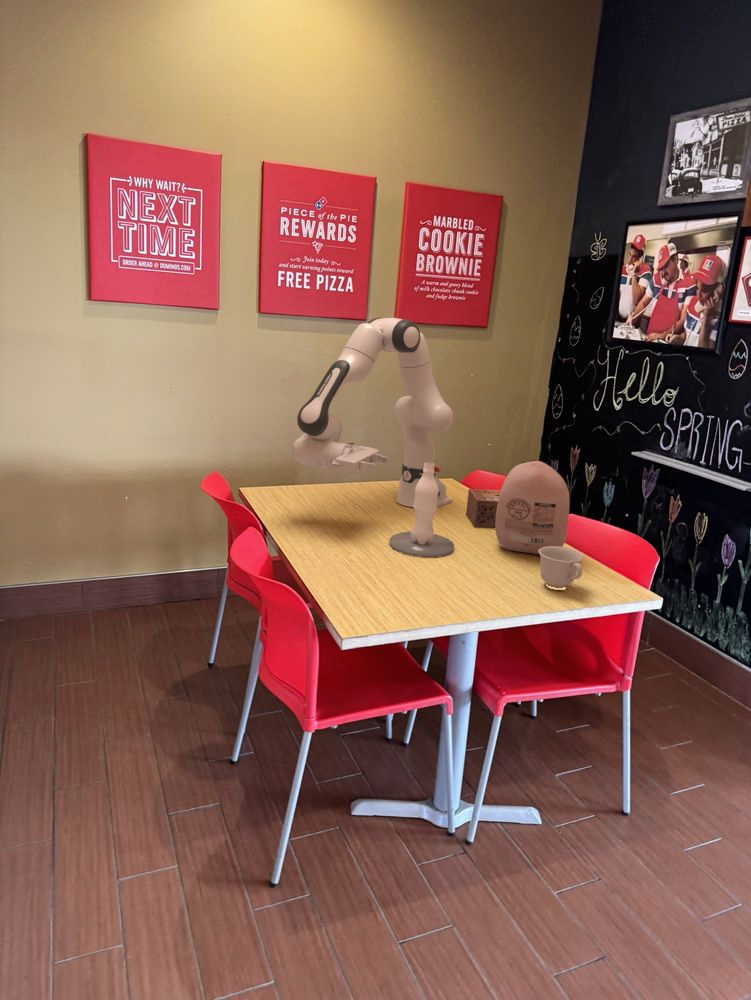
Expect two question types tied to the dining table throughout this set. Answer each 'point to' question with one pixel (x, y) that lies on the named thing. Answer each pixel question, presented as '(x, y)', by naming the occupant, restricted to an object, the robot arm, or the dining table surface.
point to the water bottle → (425, 506)
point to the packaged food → (532, 508)
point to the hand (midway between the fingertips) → (381, 463)
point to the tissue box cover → (482, 507)
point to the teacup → (560, 565)
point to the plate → (434, 549)
